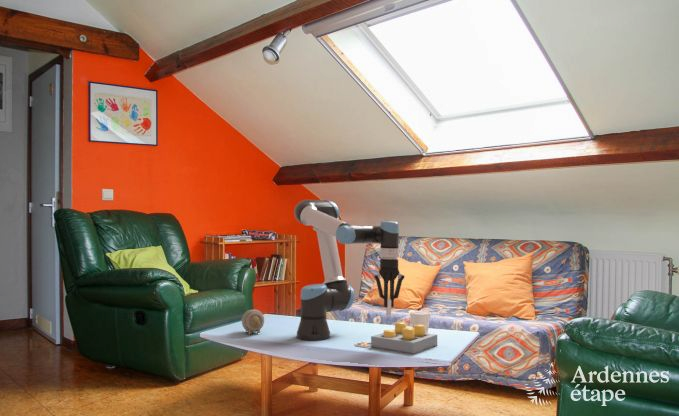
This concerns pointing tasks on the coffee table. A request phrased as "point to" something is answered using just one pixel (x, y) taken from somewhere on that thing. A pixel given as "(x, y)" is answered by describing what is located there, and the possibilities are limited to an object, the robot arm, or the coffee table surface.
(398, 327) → the button
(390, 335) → the button
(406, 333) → the button
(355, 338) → the coffee table surface
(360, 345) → the pattern tile
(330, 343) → the coffee table surface
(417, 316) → the cup
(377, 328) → the coffee table surface
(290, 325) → the coffee table surface
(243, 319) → the toy sheep
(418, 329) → the button
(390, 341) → the board
